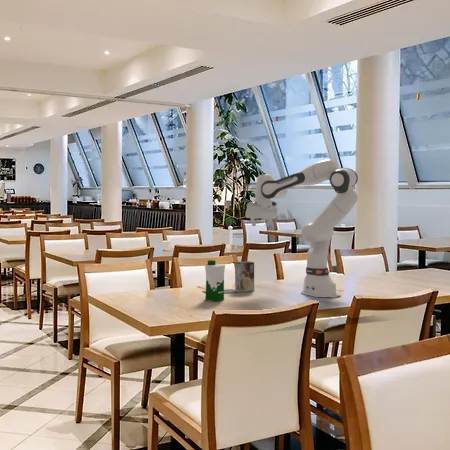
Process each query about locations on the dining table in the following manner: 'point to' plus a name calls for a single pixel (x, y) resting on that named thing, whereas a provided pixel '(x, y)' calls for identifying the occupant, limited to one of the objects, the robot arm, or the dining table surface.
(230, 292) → the mat
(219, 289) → the milk carton
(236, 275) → the coffee box
